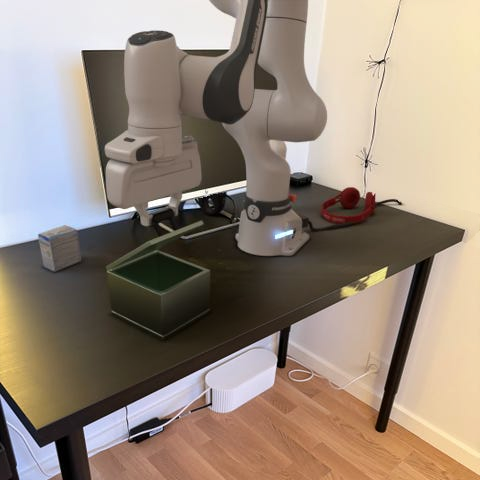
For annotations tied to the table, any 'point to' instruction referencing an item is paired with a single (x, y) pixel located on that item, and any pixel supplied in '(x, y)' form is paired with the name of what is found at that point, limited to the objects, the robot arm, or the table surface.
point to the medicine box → (59, 247)
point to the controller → (217, 201)
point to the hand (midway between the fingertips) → (159, 220)
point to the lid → (157, 242)
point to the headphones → (349, 206)
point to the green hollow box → (159, 293)
